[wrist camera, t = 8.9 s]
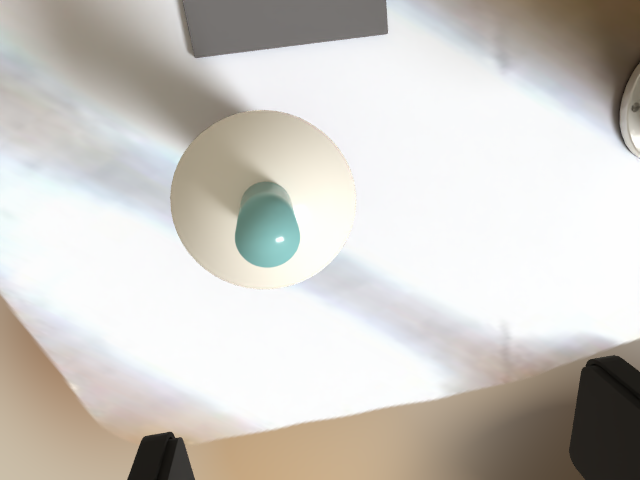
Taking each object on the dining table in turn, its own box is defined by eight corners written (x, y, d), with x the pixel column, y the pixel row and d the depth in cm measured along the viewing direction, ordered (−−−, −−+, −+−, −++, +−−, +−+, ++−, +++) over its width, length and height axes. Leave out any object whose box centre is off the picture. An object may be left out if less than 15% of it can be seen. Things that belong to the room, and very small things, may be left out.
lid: (343, 97, 22) (371, 100, 16) (360, 268, 25) (387, 316, 20) (151, 124, 21) (113, 136, 15) (197, 296, 24) (179, 355, 19)
